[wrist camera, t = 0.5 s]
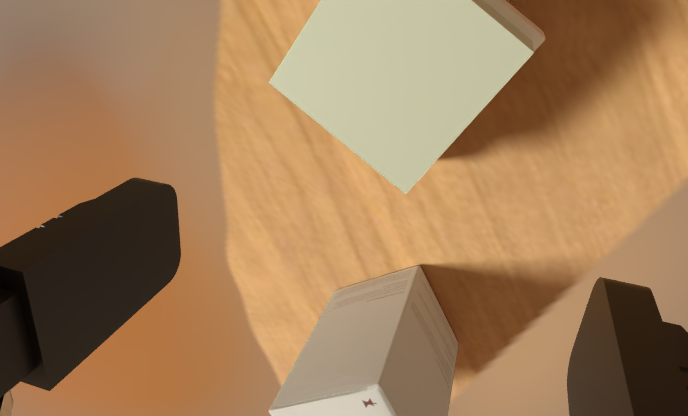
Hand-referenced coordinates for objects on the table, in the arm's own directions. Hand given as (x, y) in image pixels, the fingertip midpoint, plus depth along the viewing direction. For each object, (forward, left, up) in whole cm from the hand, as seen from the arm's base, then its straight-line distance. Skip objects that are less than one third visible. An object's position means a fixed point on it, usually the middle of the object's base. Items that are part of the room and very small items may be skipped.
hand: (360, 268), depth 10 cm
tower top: (+1, -3, -21) cm, 21 cm away
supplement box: (+17, +8, -25) cm, 31 cm away
